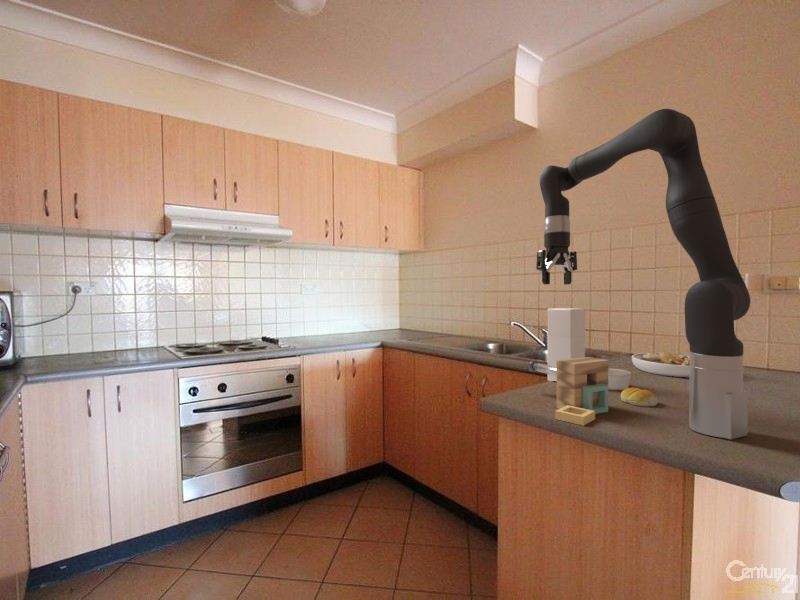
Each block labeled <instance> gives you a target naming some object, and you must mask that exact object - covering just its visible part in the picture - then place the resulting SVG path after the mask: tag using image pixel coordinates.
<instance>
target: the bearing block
mask: <svg viewBox="0 0 800 600" xmlns="http://www.w3.org/2000/svg"><path fill="white" fill-rule="evenodd" d="M608 368H609V360H608V359H604V358H599V357H597V358H596V357H592V356H585V357H584V358H574V359H564V360H557V383H556V408H557V409H560V408H562V407H565V406H567V405H569V406H574V407H579V408H583V386H589V385H596V384H605V385H608ZM593 406H598V392H593Z"/></svg>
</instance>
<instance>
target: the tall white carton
mask: <svg viewBox="0 0 800 600" xmlns="http://www.w3.org/2000/svg"><path fill="white" fill-rule="evenodd" d="M584 357H586V309H585V308H583V307H582V308H581V307H579V308H576V307H574V308H573V307H555V308H554V307H552V308H547V365H548V366H553V367H557V360H564V359H574V358H584ZM551 381H557V376H554V375H551V374H547V382H551Z"/></svg>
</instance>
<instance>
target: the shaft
mask: <svg viewBox="0 0 800 600" xmlns="http://www.w3.org/2000/svg"><path fill="white" fill-rule="evenodd" d="M527 368H528V371H530V372H533V373H537V372H539V373H542V374H543V373H544V374H547V375H548V374H551V375H554V376H557V367H553V366H548V364H544V363H539V361H537V360H529V362H528V364H527Z"/></svg>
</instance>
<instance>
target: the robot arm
mask: <svg viewBox="0 0 800 600" xmlns="http://www.w3.org/2000/svg"><path fill="white" fill-rule="evenodd" d="M647 150H650V151H653V152H656V153H659V155H660V157H661V159H662V161H663V164H664V167H665V170H666V174H667V188H666V195H665V209H666V214H667V217H668V221H669V223H670V228H671V230H672V233H673V235H674V236H675V238H676V240H677V241H678V242H679V244H680V245H681V247H682V248H683V249H684V251H685V252H686V253H687V255H688V256H689V258H690V259H691V260H692V263H694V265H695V268H696V270H697V274H698V277H699V281H698V282H696V283H694V284H693V285H692V286H691V287H690V288H689V289H688V291H687V293H686V295H685V297H684V298H685V299H684V326H685V328H684V330H685V338H686V340H687V342H688V344H689V355H690V376H689V378H688V379H689V387H688V388H689V389H688V390H689V391H688V394H689V399H688V401H689V402H688V403H689V405H688V407H689V409H688V413H689V415H688V427H689V429H690V430H692V431H694V432H697V433H700V434H702V435H706V436H711V437H717V438H721V439H727V440H736V439H740V438H742V437H747V436H748V425H749V422H748V419H749V418H748V417H749V416H748V409H749V406H748V405H749V393H748V391H747V390H745V389H744V344H743V342H742V340H740V339H739V338H738V337H737V335H736V333H735V321H737V320H739V319H741V318H743V317H744V316H745V315H746V314H748V311H749V310H750V307H751V295H750V292H749V290H748V287H747V285H746V282H745V281H744V279H743V276H742V275H741V273H740V271H739V268H738V266H737V264H736V262H735V260H734V256H733V254H732V251H731V248H730V243H729V241H728V237H727V234H726V231H725V227H724V225H723V222H722V218H721V213H720V210H719V207H718V204H717V200H716V198H715V195H714V192H713V190H712V188H711V183H710V181H709V177H708V175H707V172H706V170H705V168H704V165H703V161H702V157H701V153H700V146H699V141H698V134H697V129H696V125H695V123H694V121H693V120H692V118H691V117H690V116H688V115H687V114H684V113H682V112H679V111H677V110H676V109H672V108H662V109H657V110H656V111H654V112H652V113H650V114H648V115H647V116H645V117H643V118H642V119H641V120H639V121H638V122H636V123H635V124H633V125H632V126H630V127H629V128H627V129H626V130H624V131H623V132H620V133H619V134H618V135H616V136H615V137H613V138H611V139H610V140H608V141H607V142H604V143H603V144H601V145H599V146H597V147H595V148H593V149H590V150H589V151H586V152H584V153H583V154H580V155H578V156H576V157H574V158H573V159H571V161H570V162H569V163H568V166H567V167H562V166H557V165H548V166H546V167H545V168H544V169H543V170H542V171H541V174H540V177H539V187H540V191H541V195H542V200H543V201H544V225H543V228H544V229H543V230H544V231H543V235H544V236H543V247H544V248H545V249H542V250H541V249H540V250H537V251H536V266H535V268H536V270H537V271H540V272H541V282H542V284H543V285H550V284H551V272H550V271H551V269H552V267H554V266H560V267H561V269H562V270H563V272H564V273H563V284H564V285H571V284H572V281H573V280H572V277H573V274H572V273H573V272H574V271H577V270H578V258H577V257H578V256H577V253H578V252H577V251H576V250H575V251H569V248H570V246H571V220H570V201H569V199H568V198H567V197H566V196H564V195H563V193H562V192H566V191H569V190H571V189H573V188H575V187H577V185H580V184H581V183H582V182H583V181H584V180H588V179H590V178H593V177H596V176H597V175H600V174H602V173H605V172H606V171H608V170H609V169H611V168H612V167H613V166H614V165H616V163H618V162H619V161H620V160H622V159H623V158H625V157H627V156H630V155H633V154H636V153H638V152H642V151H647Z"/></svg>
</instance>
